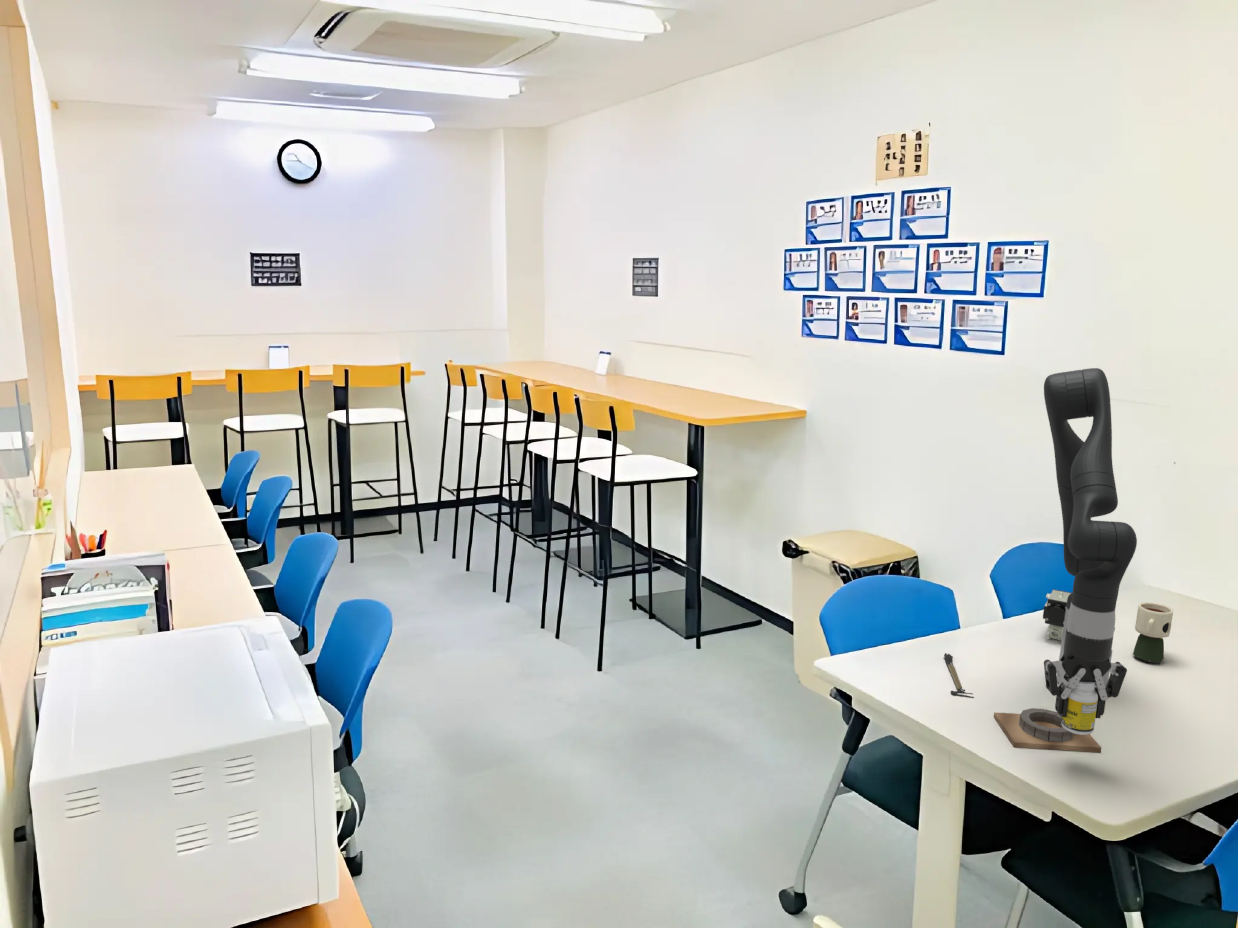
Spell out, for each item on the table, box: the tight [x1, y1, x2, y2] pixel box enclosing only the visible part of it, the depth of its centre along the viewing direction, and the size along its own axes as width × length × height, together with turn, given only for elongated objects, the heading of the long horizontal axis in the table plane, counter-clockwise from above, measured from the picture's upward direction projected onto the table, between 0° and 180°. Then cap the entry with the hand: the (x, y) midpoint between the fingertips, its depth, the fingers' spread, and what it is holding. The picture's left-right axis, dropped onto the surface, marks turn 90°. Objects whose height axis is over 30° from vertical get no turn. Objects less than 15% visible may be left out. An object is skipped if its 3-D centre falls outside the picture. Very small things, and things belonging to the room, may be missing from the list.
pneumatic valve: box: [1042, 588, 1072, 642], centre depth 227 cm, size 6×12×12 cm, turn 148°
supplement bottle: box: [1061, 682, 1098, 735], centre depth 167 cm, size 5×5×10 cm
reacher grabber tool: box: [943, 652, 975, 699], centre depth 205 cm, size 21×7×1 cm, turn 167°
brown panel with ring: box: [993, 707, 1102, 753], centre depth 180 cm, size 16×12×3 cm
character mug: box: [1132, 602, 1174, 664], centre depth 215 cm, size 11×7×13 cm, turn 142°
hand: (1078, 715), depth 168 cm, fingers closed on supplement bottle, 5 cm apart
